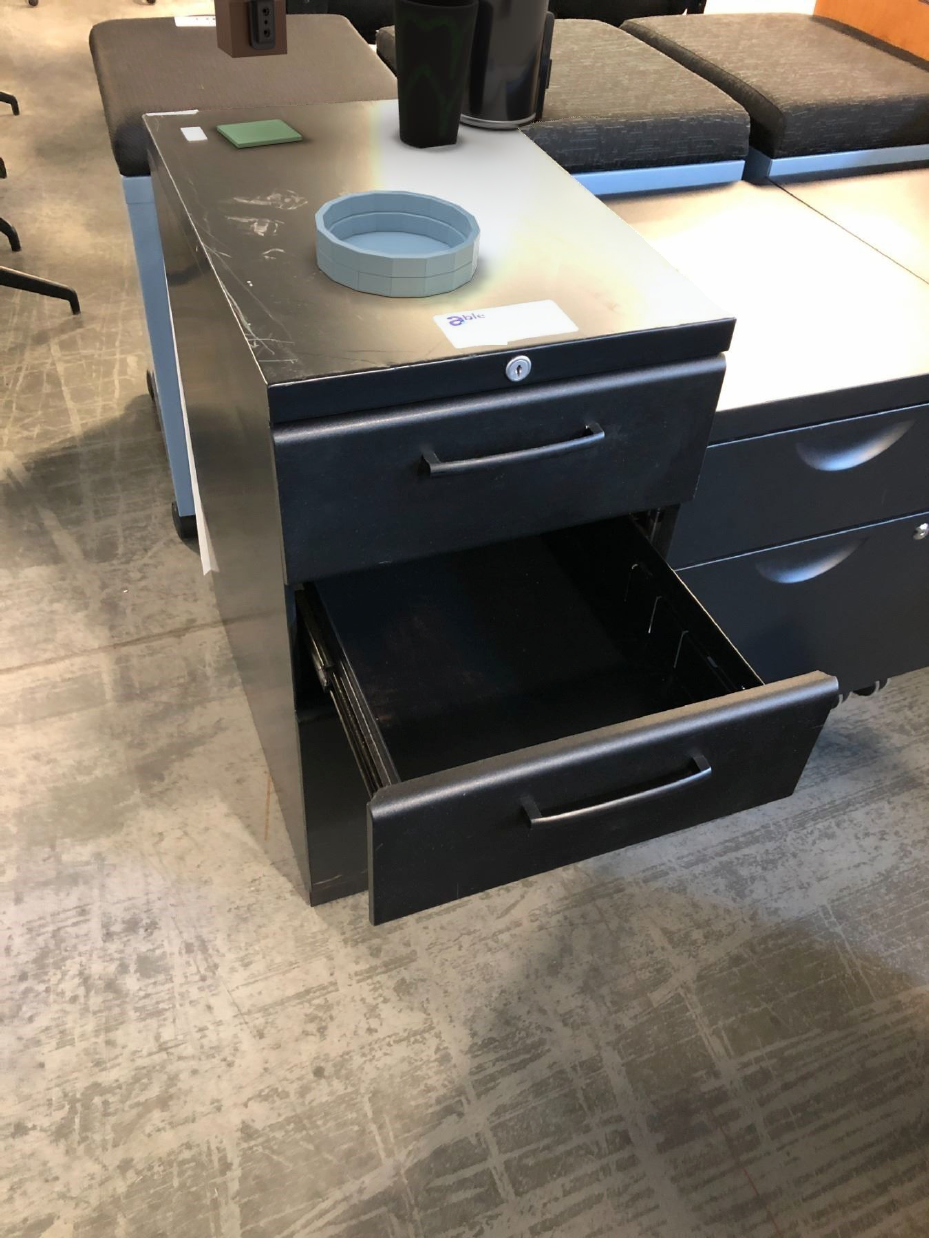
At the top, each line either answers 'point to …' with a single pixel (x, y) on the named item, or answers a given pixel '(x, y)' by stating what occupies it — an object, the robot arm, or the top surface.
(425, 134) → the cup
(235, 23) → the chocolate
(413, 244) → the pan
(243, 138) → the green rectangular slab
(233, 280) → the top surface
